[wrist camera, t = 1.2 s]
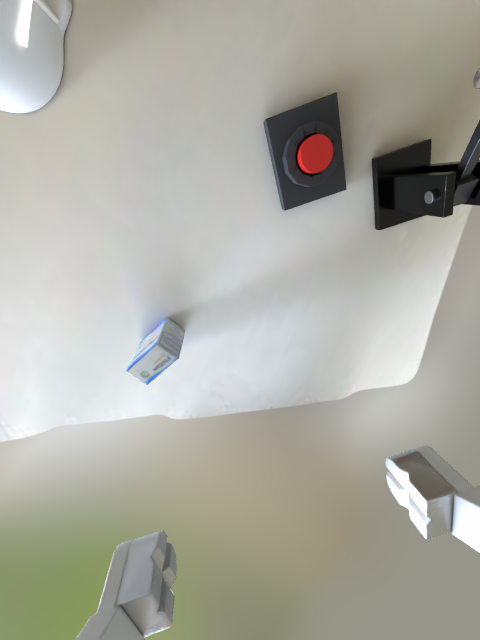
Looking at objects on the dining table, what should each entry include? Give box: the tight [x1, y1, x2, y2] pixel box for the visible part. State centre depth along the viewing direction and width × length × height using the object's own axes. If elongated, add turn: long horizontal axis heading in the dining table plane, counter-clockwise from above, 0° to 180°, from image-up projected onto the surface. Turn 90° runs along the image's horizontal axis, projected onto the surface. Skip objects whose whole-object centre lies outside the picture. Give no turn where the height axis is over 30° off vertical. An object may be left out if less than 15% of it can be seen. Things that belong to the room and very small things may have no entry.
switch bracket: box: [372, 139, 480, 230], centre depth 33 cm, size 10×8×12 cm
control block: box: [264, 93, 346, 210], centre depth 34 cm, size 11×9×4 cm
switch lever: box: [453, 68, 480, 206], centre depth 25 cm, size 13×6×2 cm, turn 18°
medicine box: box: [126, 317, 185, 385], centre depth 44 cm, size 8×4×9 cm, turn 133°
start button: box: [297, 134, 333, 173], centre depth 31 cm, size 4×4×2 cm
